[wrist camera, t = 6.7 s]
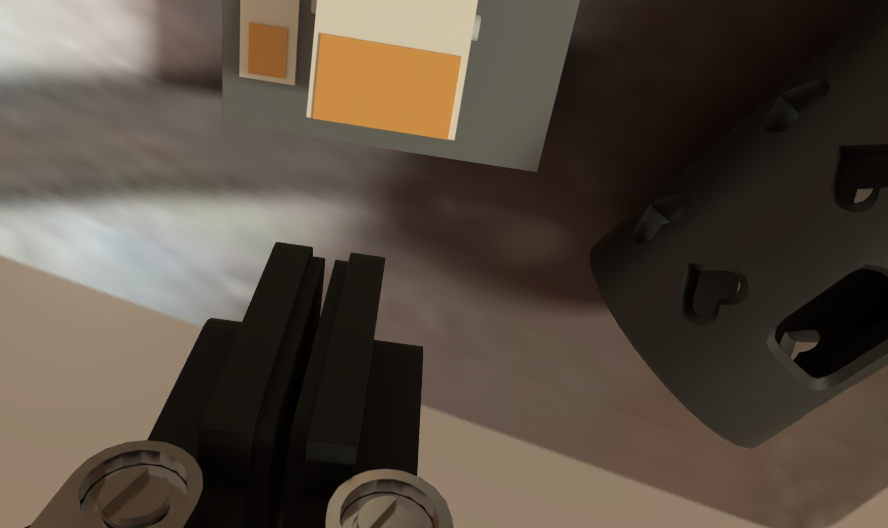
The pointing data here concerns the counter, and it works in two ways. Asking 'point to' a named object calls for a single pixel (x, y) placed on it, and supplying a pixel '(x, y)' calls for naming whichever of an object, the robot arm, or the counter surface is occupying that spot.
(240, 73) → the switch unit
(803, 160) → the muzzle brake
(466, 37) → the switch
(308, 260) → the robot arm
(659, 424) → the counter surface
